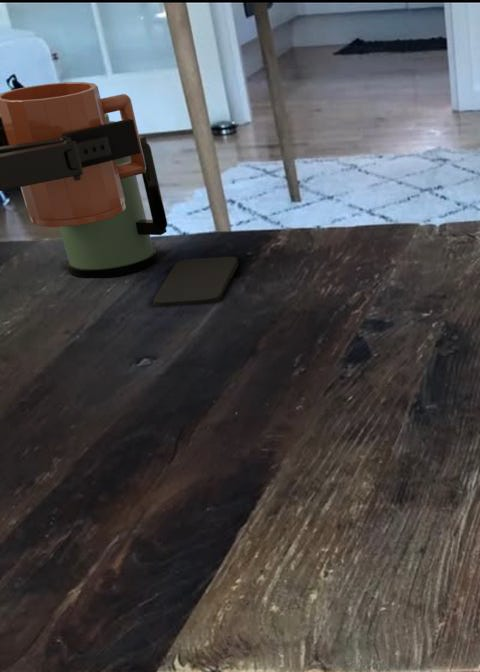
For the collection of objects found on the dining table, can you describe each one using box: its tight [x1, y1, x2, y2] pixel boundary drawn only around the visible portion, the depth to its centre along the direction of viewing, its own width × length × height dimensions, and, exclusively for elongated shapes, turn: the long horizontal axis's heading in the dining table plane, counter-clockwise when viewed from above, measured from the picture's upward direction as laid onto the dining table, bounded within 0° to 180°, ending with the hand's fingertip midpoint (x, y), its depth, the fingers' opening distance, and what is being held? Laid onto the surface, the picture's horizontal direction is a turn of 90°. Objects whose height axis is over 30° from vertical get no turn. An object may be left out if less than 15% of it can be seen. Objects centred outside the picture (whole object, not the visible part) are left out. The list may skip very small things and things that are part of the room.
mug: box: [0, 81, 146, 228], centre depth 99 cm, size 12×8×10 cm
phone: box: [152, 256, 239, 307], centre depth 126 cm, size 7×1×15 cm
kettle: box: [58, 113, 168, 279], centre depth 129 cm, size 16×14×18 cm
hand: (105, 131), depth 100 cm, fingers closed on mug, 8 cm apart
